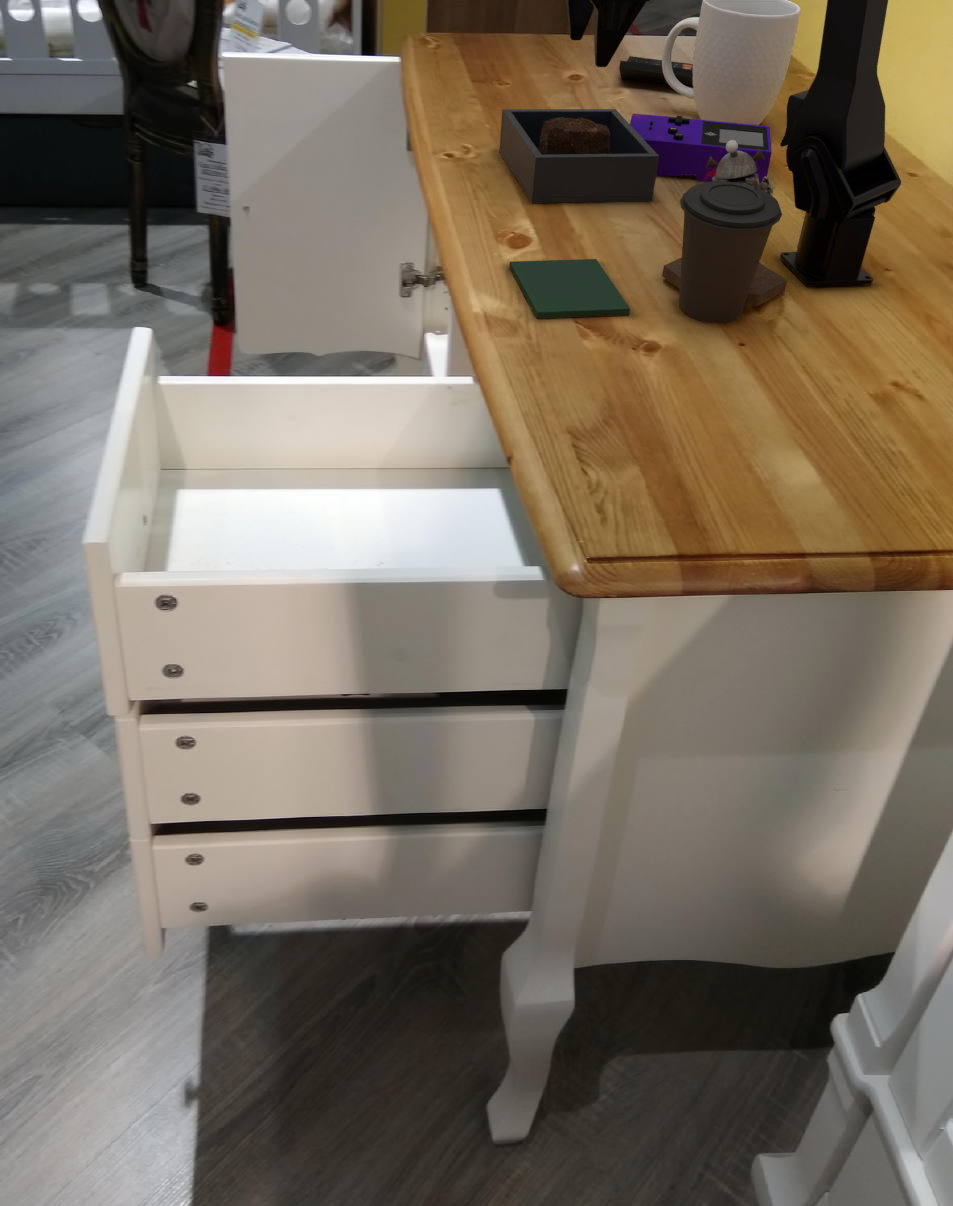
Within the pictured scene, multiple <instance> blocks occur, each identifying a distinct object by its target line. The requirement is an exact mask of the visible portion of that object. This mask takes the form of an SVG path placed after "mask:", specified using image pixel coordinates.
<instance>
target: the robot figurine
mask: <svg viewBox="0 0 953 1206" xmlns="http://www.w3.org/2000/svg"><path fill="white" fill-rule="evenodd" d="M737 149H738V144H737V142H736V141H734V140H730V141H729V142H728V143H727V144H726V150H727V151H728V154H726V155H725V156H724V157H723V158H722V159H721V160H720V162H719V163H716V162H715V161H714V160H713V159H712V157H711V156H710V158H709V160H708V163H707V167H706V169H708V168H710V167H717V169H716V177H712V180H713V181H728V182H736V183H742V184H743V183H747V184H750V185H752V186H755V187H756V188H759V189H761V190H763V191H765V192H767V193H769V194H770V195H772V196H773V193H774V190H773V189H772V188H773V186H772V182H771V178H770V176H767V177H766V176H764V178H763V180H762V183H759V179H758V174H755V172H756V171H757V167H756V163H755V162H754V161H756V160H765V158H764V156H763V154H762V152H761V151H760V149H759V148H758V151H757V153H756V155H755V156H754V157H753V158H752V157H751V156H750V155H749V154H747V153H745V152H743V151H737ZM681 260H682V257H679V258H678V259H675V260H673V261H670V262H668V263H666V264H664V265H663V269H662V275H661V277H662V278H664V279H665V280H666V281H668V282H669V283H670V284H672V285H673V286H674V287H676V288H678V290H680V275H681ZM787 284H788V279H786V278H785V277H783V276H782V275H780V274H778V273H777V272H775V271H774V270H772V269H771V268H770V267H767V266H766V265H764V264H762V263H761V262H759V265H758V267H757V270H756V273H755V276H754V279H753V281H752V284H751V287H750V290H749V293H748V295H747V298H746V301H745V304H744V306H752V307H758V306H760V305H762V304H764V303H766V302H768V301H769V300H771V299H773V298H774V297H776V296H778V295H780V294H782V293H784V292H785V291H786V289H787Z"/></svg>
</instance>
